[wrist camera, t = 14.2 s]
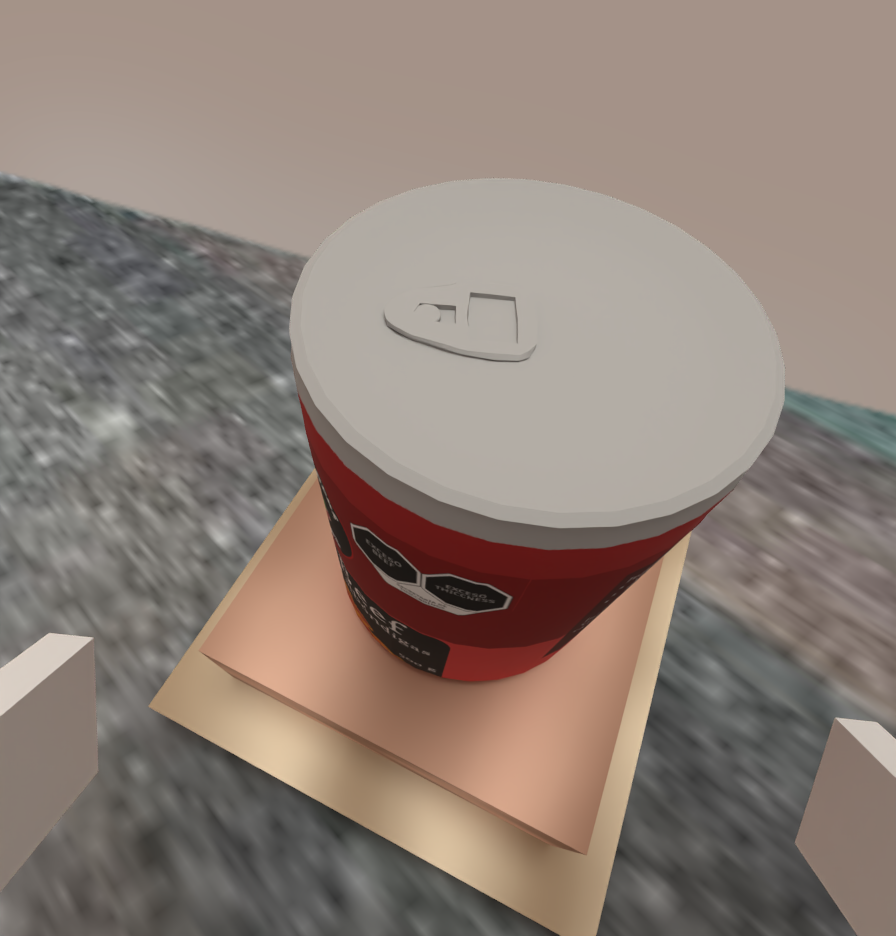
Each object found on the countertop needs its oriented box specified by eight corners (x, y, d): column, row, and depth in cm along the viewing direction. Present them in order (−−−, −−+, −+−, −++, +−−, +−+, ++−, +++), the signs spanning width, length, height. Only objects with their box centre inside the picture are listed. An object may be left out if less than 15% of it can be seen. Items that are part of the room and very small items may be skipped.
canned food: (328, 486, 19) (262, 187, 10) (543, 449, 21) (662, 158, 11) (366, 719, 16) (317, 594, 6) (623, 653, 17) (899, 471, 8)
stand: (675, 536, 26) (742, 471, 21) (573, 938, 18) (642, 992, 13) (374, 409, 29) (369, 324, 23) (168, 714, 21) (93, 685, 15)
